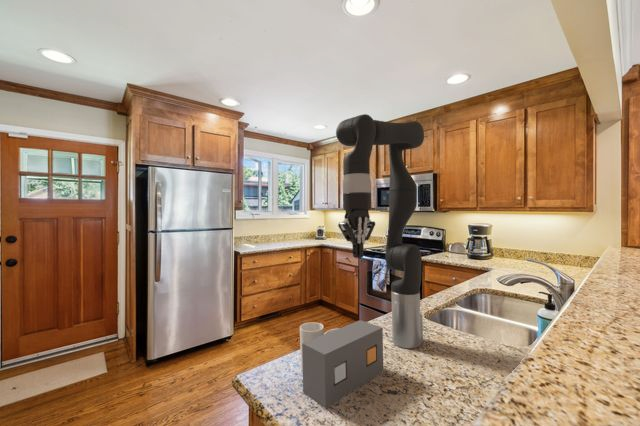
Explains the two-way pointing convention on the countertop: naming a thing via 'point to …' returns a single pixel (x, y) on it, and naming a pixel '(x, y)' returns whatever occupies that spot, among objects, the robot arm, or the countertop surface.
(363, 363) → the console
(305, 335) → the mug
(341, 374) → the white cube
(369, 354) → the orange button
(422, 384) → the countertop surface
